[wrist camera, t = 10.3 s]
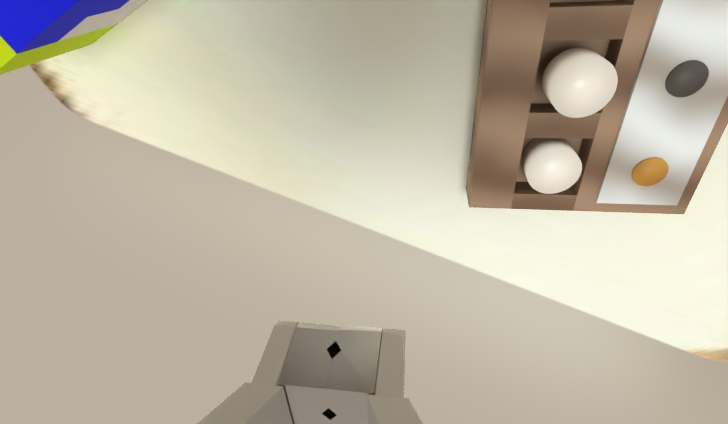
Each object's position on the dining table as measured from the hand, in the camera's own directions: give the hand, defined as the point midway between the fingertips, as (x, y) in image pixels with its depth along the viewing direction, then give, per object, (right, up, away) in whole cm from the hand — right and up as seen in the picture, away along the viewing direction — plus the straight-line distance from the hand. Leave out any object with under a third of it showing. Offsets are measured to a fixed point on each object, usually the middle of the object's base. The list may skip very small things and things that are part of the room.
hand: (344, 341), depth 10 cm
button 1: (+16, +8, +24) cm, 30 cm away
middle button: (+15, +13, +19) cm, 27 cm away
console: (+18, +14, +21) cm, 31 cm away
